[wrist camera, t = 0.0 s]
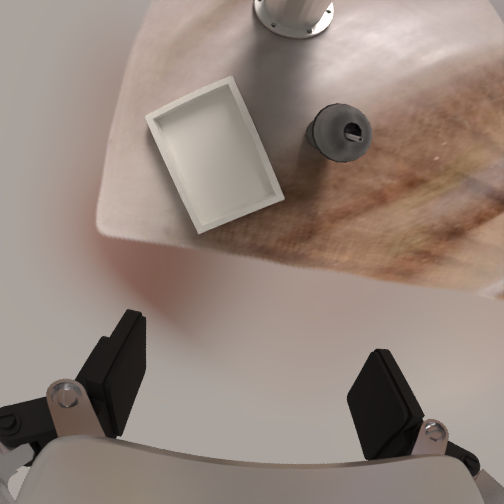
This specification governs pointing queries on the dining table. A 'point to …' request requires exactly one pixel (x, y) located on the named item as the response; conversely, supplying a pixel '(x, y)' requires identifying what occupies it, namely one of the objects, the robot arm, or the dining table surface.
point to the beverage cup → (340, 133)
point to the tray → (214, 155)
